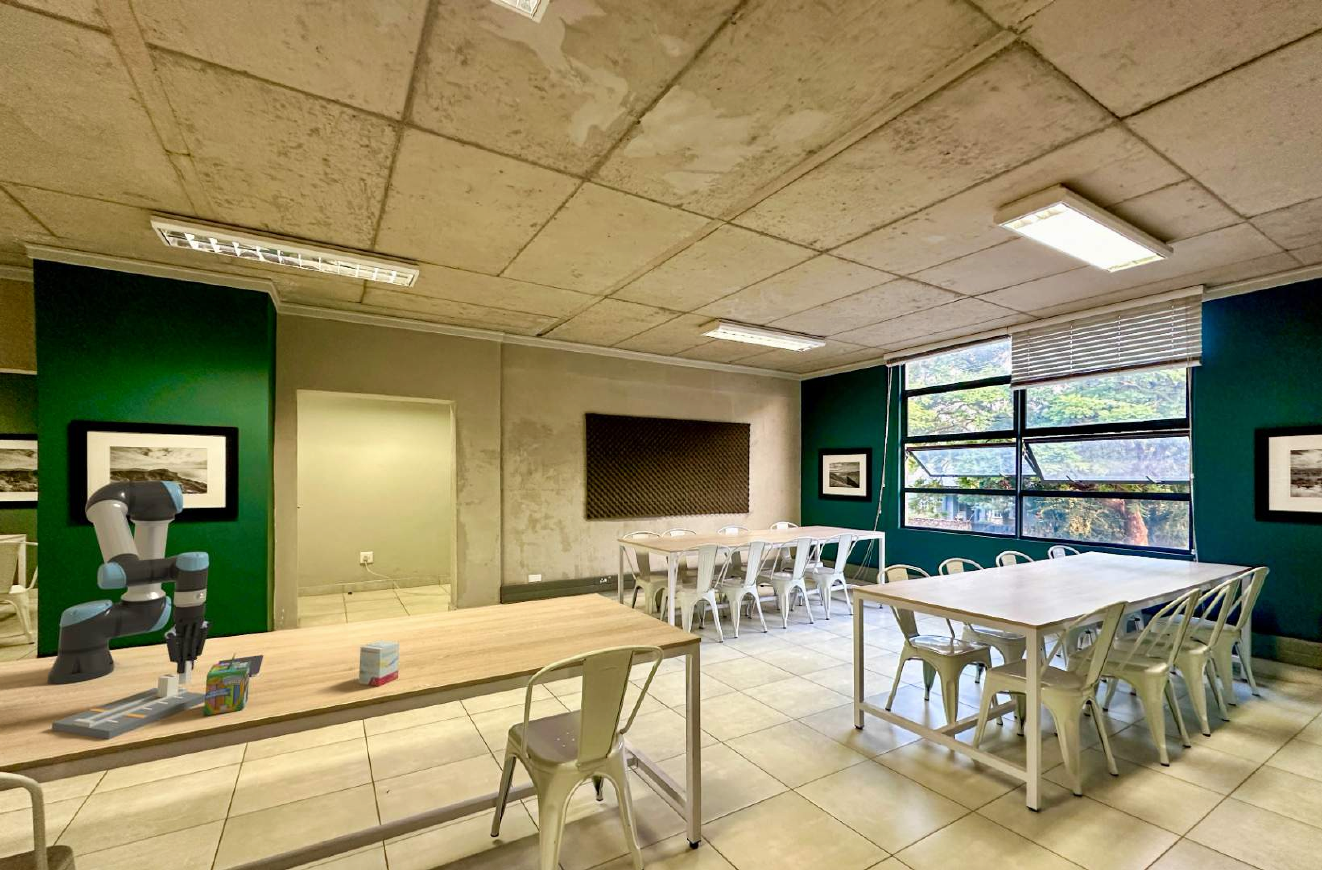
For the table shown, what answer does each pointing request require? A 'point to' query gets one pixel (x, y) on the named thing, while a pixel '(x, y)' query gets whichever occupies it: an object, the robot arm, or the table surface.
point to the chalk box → (227, 687)
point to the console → (127, 713)
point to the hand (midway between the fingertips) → (184, 683)
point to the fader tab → (168, 685)
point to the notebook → (254, 665)
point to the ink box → (379, 663)
